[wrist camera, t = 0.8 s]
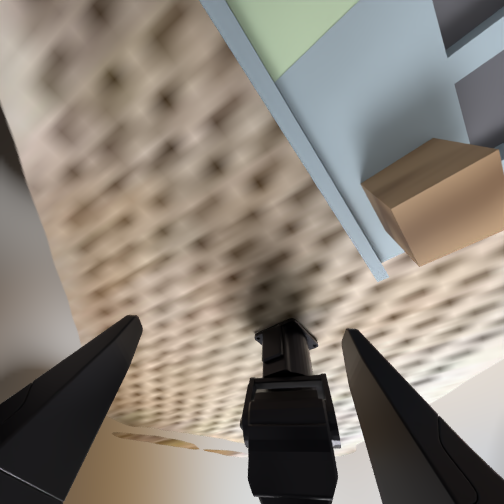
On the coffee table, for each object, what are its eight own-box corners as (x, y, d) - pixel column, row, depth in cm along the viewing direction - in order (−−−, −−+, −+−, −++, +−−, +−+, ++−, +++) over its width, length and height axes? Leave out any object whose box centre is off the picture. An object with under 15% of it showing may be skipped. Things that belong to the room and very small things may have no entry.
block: (452, 196, 17) (514, 225, 12) (385, 231, 18) (419, 266, 14) (433, 137, 15) (498, 149, 10) (360, 183, 16) (390, 209, 12)
